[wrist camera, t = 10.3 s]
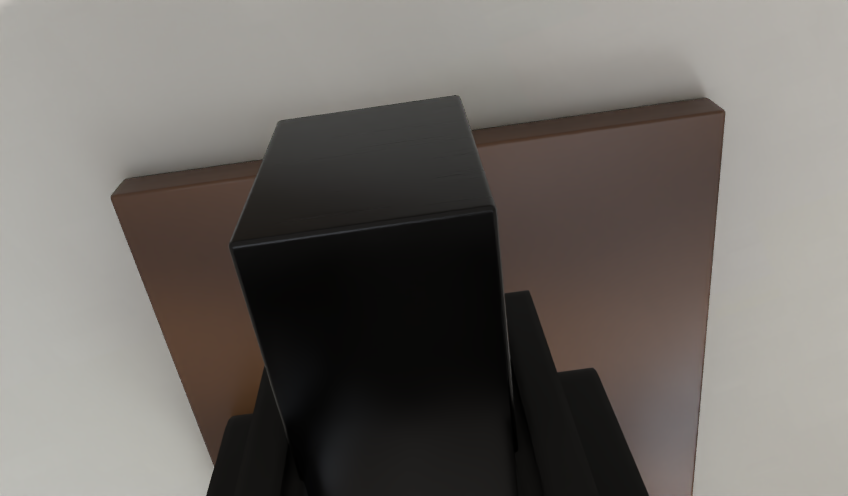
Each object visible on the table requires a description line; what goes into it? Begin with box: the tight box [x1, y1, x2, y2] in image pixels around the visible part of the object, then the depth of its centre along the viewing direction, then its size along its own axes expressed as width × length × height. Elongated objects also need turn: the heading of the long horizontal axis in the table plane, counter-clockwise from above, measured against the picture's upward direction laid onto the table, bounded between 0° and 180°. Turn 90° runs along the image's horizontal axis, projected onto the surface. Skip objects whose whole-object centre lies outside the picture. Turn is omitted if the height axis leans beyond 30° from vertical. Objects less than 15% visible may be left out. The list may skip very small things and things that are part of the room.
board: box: [111, 98, 725, 496], centre depth 23 cm, size 20×16×1 cm
